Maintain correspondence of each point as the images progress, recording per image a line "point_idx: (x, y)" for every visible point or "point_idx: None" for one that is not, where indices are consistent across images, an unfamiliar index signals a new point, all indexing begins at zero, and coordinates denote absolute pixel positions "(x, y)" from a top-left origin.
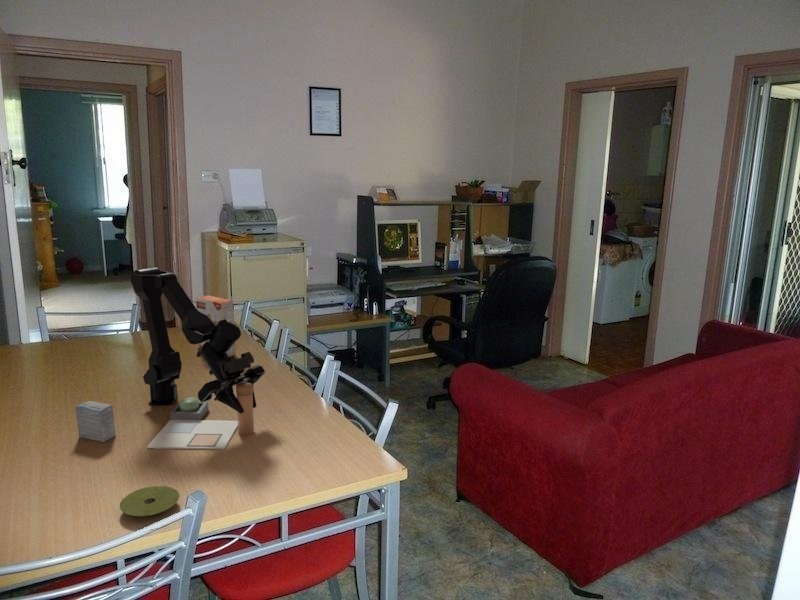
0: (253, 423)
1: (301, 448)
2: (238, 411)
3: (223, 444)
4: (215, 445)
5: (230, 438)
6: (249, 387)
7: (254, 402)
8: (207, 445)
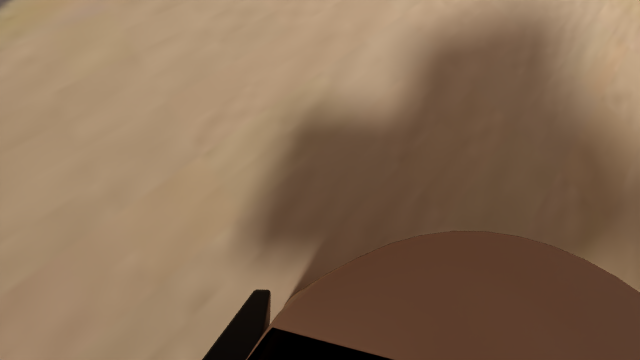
0: (298, 292)
1: (297, 34)
2: None
3: None
4: None
5: None
6: (488, 234)
7: (257, 313)
8: None
